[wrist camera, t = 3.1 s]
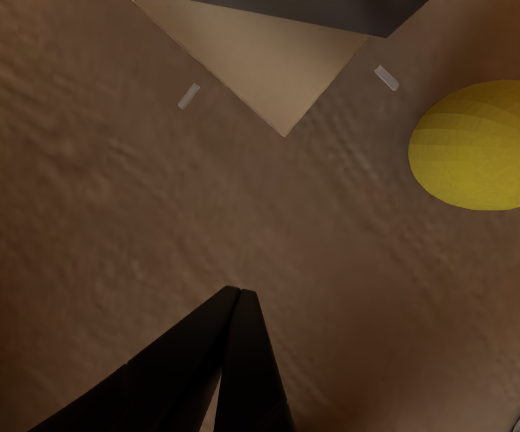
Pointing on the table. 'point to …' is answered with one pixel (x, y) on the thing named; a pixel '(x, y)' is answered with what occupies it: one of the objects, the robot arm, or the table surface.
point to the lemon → (471, 147)
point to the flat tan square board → (260, 55)
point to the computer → (517, 427)
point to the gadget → (334, 12)
